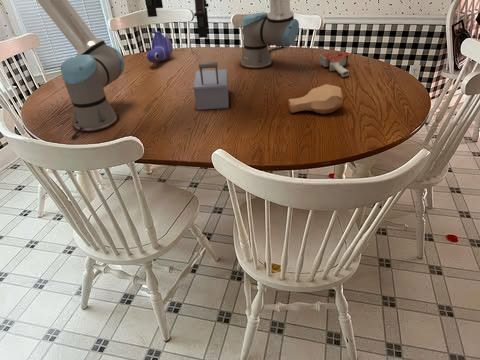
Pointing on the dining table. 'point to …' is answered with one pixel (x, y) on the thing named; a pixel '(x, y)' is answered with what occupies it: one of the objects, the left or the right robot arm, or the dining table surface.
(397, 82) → the dining table surface
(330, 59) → the grey red-topped piece
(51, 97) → the dining table surface
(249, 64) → the right robot arm
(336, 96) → the squash
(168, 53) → the toy
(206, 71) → the lid
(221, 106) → the chest
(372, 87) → the dining table surface
